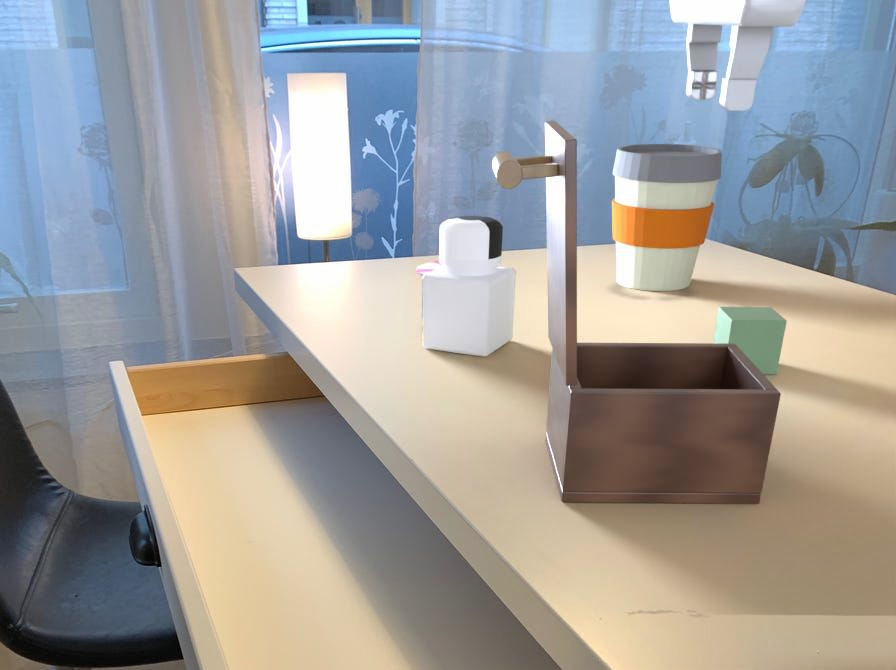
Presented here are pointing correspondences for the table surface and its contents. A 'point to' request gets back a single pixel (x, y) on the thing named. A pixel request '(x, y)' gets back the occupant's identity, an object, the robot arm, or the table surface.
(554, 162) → the lid
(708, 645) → the table surface
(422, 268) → the cd
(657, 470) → the box
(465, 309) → the medicine bottle
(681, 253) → the reusable coffee cup
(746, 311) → the block
